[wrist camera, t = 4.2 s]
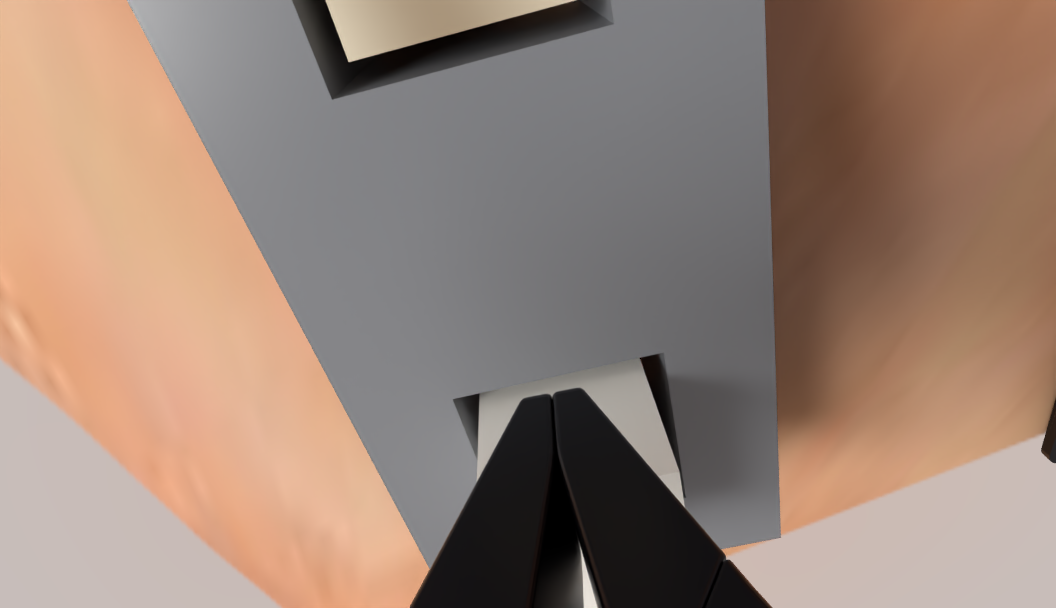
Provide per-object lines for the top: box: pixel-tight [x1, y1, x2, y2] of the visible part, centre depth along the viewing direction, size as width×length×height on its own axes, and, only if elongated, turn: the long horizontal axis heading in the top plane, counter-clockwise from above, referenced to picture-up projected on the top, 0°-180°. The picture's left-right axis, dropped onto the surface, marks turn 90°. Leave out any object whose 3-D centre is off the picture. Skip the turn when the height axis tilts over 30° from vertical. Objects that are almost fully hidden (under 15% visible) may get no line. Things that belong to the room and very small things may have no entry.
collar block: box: [127, 0, 781, 569], centre depth 14 cm, size 10×22×5 cm, turn 14°
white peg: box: [477, 358, 685, 608], centre depth 15 cm, size 4×4×5 cm
